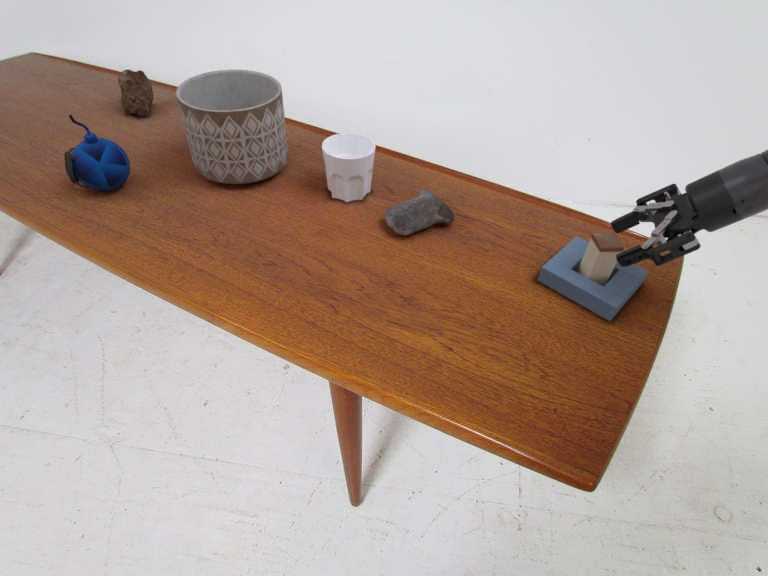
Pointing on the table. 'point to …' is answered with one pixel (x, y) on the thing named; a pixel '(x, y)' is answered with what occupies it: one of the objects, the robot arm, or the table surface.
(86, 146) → the bomb
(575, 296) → the blue square frame
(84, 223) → the table surface
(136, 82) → the rock
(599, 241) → the brown square block
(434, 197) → the stone
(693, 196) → the robot arm
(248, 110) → the planter
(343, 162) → the cup
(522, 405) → the table surface
